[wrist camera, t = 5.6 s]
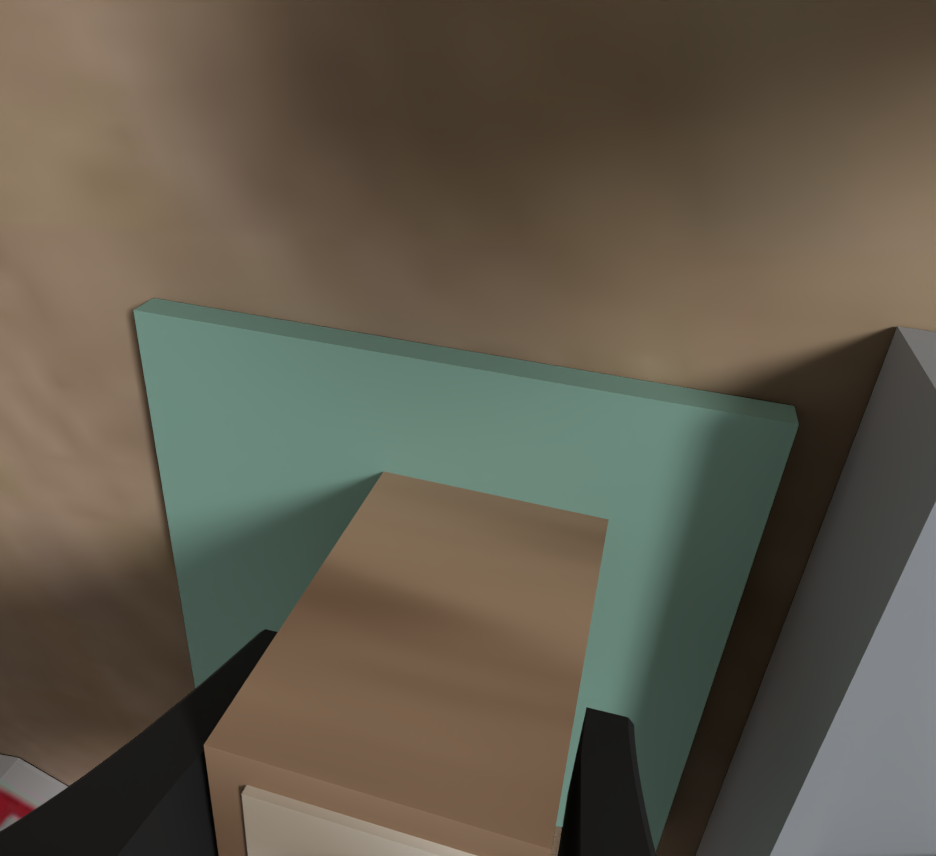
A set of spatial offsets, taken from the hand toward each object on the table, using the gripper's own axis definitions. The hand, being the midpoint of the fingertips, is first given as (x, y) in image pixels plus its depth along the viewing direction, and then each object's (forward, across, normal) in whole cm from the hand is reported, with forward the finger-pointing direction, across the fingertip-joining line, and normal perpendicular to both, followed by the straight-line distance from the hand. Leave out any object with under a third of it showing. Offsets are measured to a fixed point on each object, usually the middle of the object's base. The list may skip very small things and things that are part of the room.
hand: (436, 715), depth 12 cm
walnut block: (+3, 0, 0) cm, 3 cm away
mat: (+4, +1, +1) cm, 4 cm away
